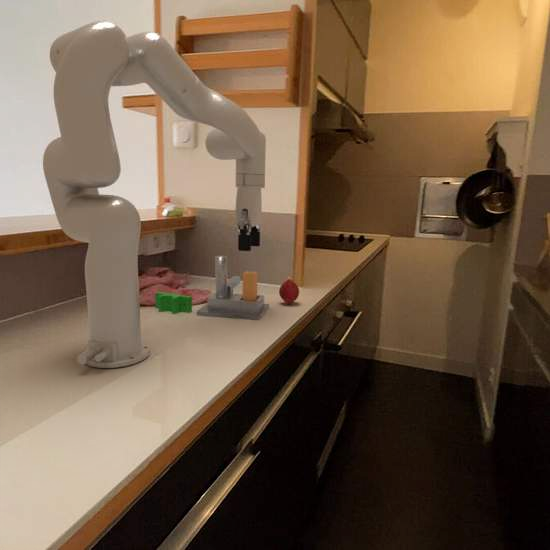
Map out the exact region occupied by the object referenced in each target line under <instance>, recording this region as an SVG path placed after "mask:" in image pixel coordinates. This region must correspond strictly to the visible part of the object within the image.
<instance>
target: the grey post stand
mask: <svg viewBox="0 0 550 550" xmlns="http://www.w3.org/2000/svg"><path fill="white" fill-rule="evenodd" d="M214 260H215V262H214V266H215V267H214V270H215V273H214V275H215V276H214V277H215V278H214V279H215V292H214V293H212V294H211V295H210V296H208V297H207V298H206V299H207V301H206V302H207V303H205V304H204V305H203V306H202V307H200V308H199V309H198V310H197V311H196V312H195V313H196V314H195V315H196V316H204V317H214V318H215V317H219V318H228V319H229V318H230V319H244V320H254V321H260V319H261V318H262V317H263V316H264V314H265V313H266V312H267V310H269V308H270V307H269V306H270V305H269V303H265V295H262V294H261V295H260V294H257V300H256V301H246V300H243V293H234V288H235V287H237V286H238V285H239V284H241V275H239V276H238V275H233V276H232V277H231V278H229V279H228V256H227V255H216V256H215V257H214ZM265 311H266V312H265Z"/></svg>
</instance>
